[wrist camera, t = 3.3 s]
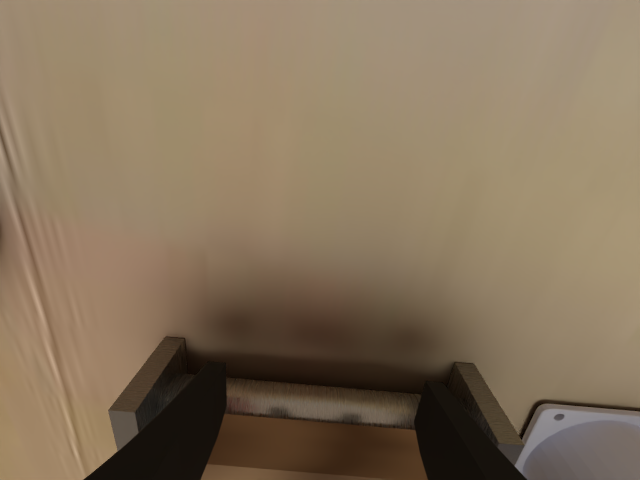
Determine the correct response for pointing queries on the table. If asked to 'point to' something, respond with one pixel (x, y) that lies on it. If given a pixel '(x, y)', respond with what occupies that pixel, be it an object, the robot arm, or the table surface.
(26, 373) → the table surface
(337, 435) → the slab
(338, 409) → the roller bed
